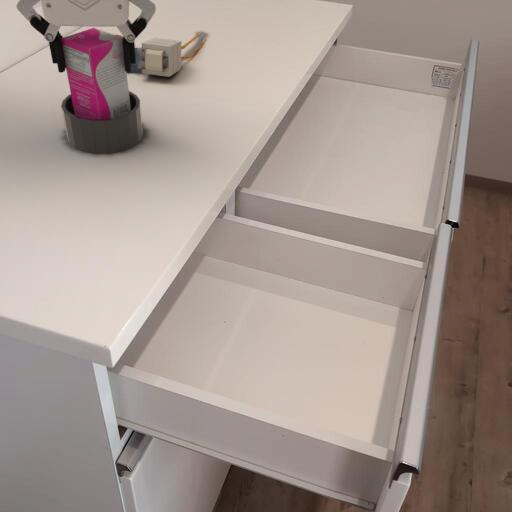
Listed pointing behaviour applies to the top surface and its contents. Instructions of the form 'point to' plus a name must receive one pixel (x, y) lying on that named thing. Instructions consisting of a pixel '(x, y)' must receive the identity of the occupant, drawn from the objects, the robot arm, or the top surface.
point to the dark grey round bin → (103, 129)
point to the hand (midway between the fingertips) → (96, 67)
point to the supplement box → (96, 74)
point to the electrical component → (162, 56)
